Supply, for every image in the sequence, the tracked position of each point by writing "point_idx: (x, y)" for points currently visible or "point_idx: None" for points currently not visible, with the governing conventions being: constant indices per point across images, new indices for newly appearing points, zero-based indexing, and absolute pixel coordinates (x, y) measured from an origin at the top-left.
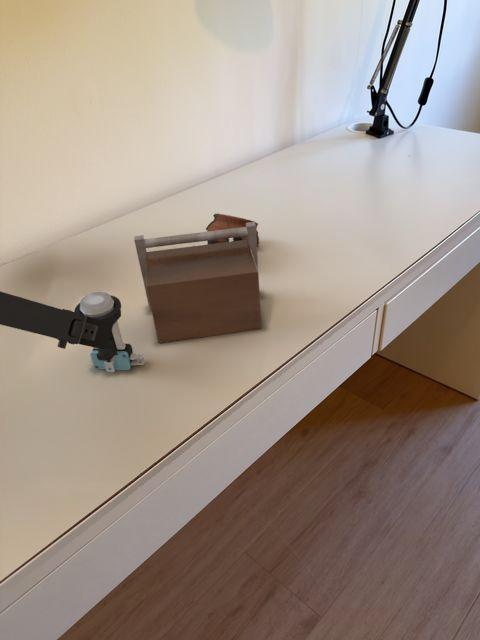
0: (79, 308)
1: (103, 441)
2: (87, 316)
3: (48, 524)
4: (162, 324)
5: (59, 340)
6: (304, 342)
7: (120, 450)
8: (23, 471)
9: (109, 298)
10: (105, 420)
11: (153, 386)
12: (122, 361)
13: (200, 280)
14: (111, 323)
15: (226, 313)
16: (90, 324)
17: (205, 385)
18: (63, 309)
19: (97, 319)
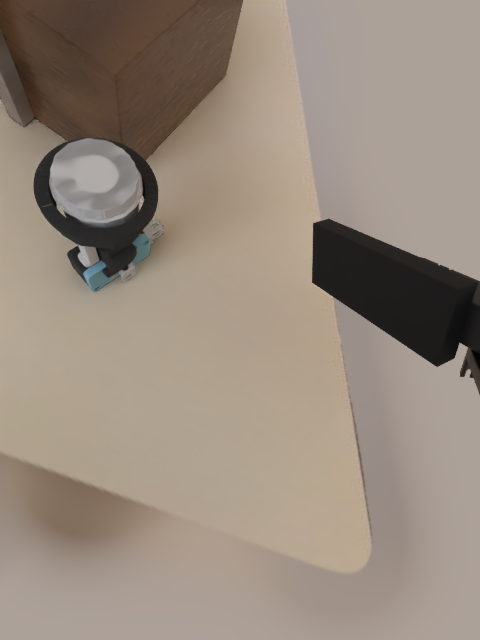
0: (63, 216)
1: (261, 375)
2: (405, 252)
3: (341, 507)
4: (132, 145)
5: (467, 363)
6: (291, 72)
7: (293, 366)
8: (230, 501)
9: (120, 151)
10: (224, 349)
11: (213, 255)
12: (141, 251)
13: (190, 11)
14: (334, 221)
15: (202, 70)
16: (446, 268)
17: (267, 207)
18: (461, 290)
19: (372, 238)
